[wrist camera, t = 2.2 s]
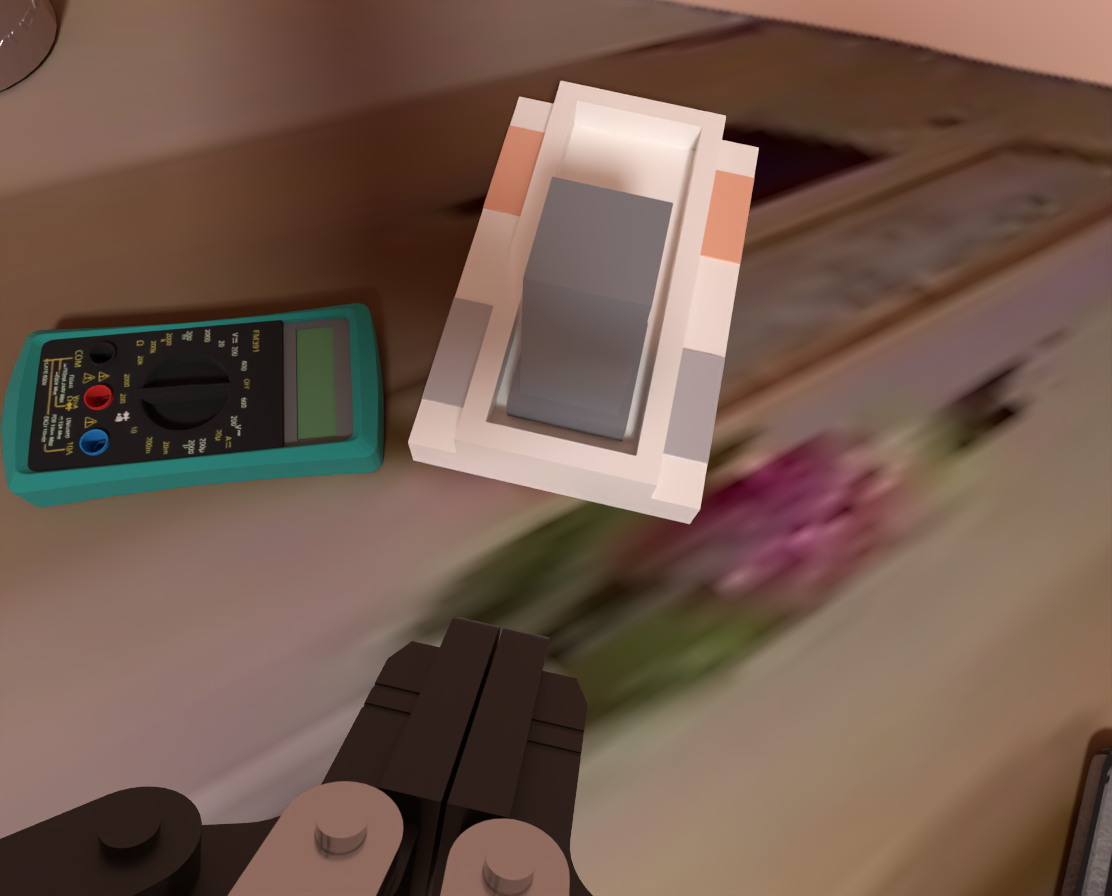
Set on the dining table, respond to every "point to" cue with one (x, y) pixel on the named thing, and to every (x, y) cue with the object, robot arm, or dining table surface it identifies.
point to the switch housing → (673, 324)
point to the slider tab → (587, 307)
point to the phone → (1093, 834)
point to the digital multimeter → (193, 404)
